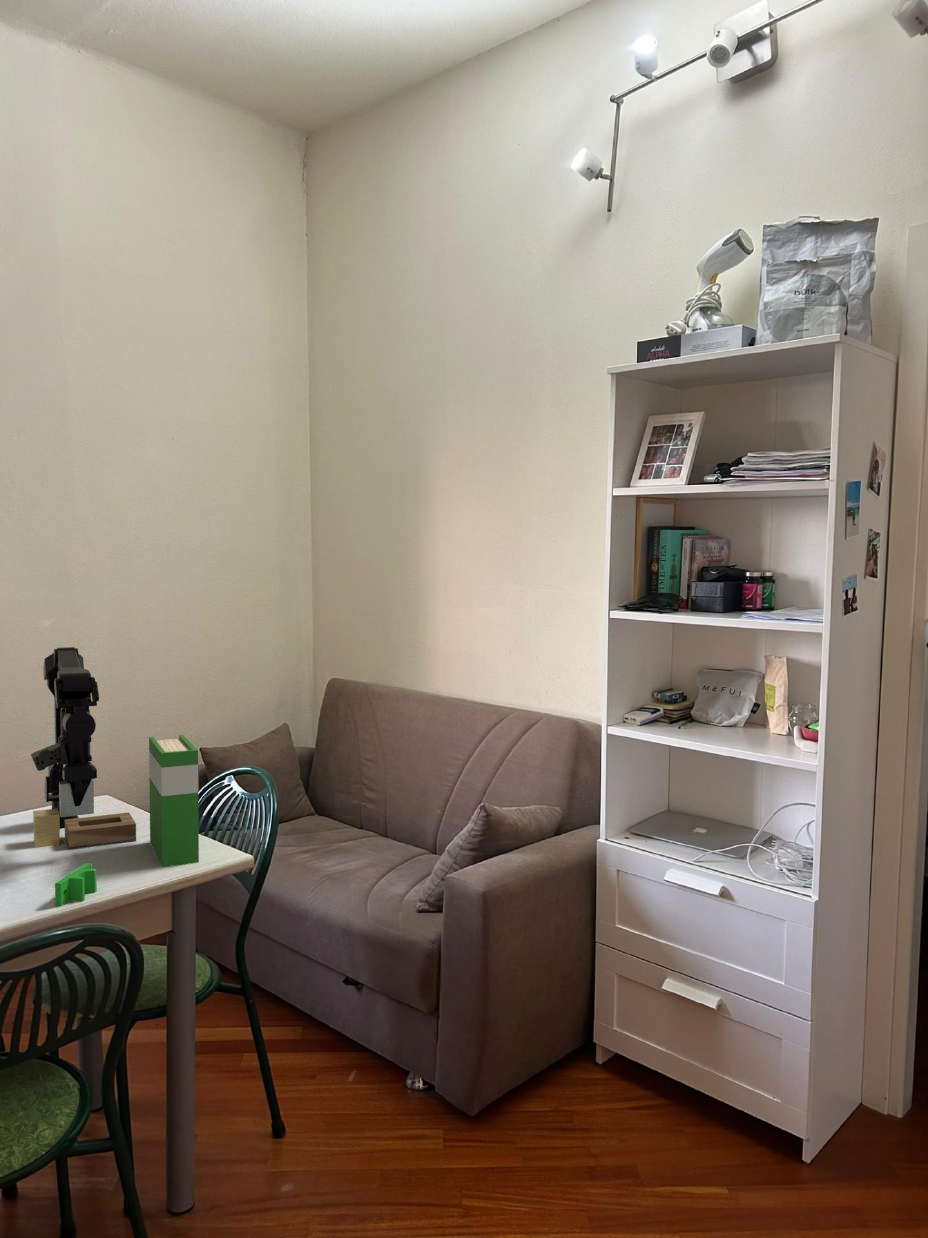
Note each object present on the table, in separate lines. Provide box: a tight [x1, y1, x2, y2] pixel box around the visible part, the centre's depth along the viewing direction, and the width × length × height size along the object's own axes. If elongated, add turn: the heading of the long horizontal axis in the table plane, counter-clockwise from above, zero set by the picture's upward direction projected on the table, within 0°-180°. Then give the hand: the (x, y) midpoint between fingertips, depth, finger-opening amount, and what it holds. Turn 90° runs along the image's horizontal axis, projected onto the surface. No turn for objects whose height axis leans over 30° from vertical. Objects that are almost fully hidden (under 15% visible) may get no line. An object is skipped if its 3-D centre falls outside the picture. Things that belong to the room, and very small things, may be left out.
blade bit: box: [59, 779, 95, 817], centre depth 197 cm, size 2×6×7 cm, turn 118°
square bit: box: [32, 808, 61, 849], centre depth 208 cm, size 5×5×7 cm
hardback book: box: [148, 734, 200, 868], centre depth 203 cm, size 18×7×24 cm, turn 26°
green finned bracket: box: [54, 862, 98, 907], centre depth 177 cm, size 11×4×5 cm, turn 174°
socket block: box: [64, 811, 137, 850], centre depth 212 cm, size 10×14×4 cm
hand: (76, 804), depth 197 cm, fingers closed on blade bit, 2 cm apart
